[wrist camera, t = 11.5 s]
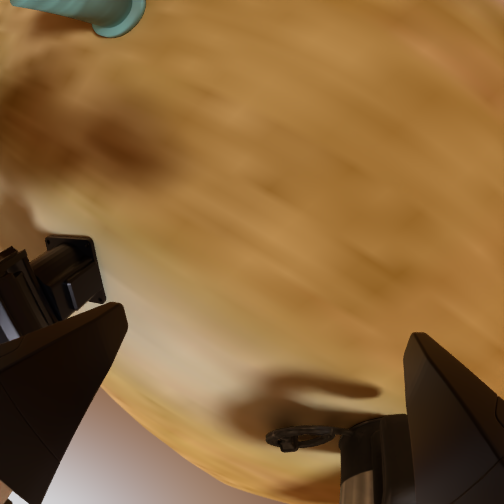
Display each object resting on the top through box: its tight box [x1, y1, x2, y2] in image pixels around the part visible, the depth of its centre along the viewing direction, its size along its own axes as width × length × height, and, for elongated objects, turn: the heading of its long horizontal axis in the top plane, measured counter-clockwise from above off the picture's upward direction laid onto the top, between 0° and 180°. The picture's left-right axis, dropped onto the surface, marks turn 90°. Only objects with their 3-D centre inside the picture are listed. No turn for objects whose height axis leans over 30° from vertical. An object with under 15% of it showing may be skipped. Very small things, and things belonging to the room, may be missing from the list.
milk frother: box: [266, 414, 416, 504], centre depth 22 cm, size 14×16×15 cm
